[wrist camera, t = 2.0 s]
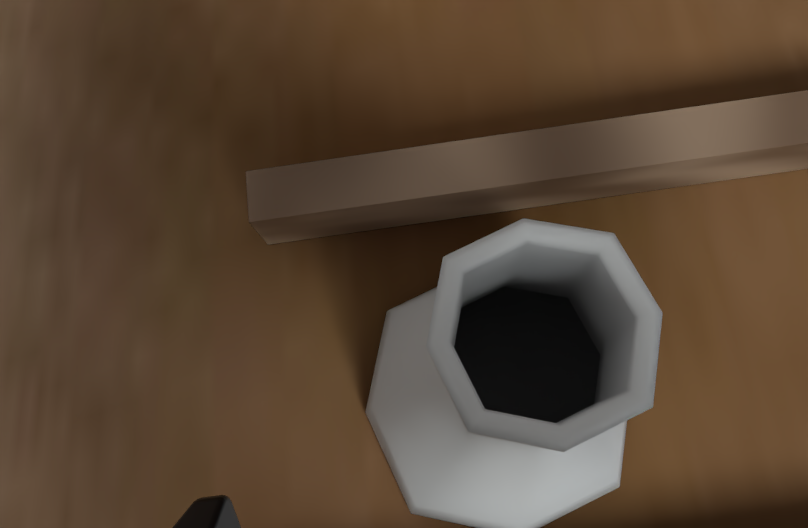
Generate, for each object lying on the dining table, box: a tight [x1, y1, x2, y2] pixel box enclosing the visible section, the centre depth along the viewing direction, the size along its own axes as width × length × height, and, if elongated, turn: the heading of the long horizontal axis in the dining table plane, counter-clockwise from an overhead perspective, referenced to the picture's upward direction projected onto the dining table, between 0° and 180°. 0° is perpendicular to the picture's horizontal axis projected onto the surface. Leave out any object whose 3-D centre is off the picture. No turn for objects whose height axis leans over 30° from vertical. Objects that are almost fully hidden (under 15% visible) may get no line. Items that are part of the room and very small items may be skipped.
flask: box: [365, 218, 662, 528], centre depth 14 cm, size 7×7×10 cm
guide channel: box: [246, 90, 808, 245], centre depth 18 cm, size 18×14×2 cm
